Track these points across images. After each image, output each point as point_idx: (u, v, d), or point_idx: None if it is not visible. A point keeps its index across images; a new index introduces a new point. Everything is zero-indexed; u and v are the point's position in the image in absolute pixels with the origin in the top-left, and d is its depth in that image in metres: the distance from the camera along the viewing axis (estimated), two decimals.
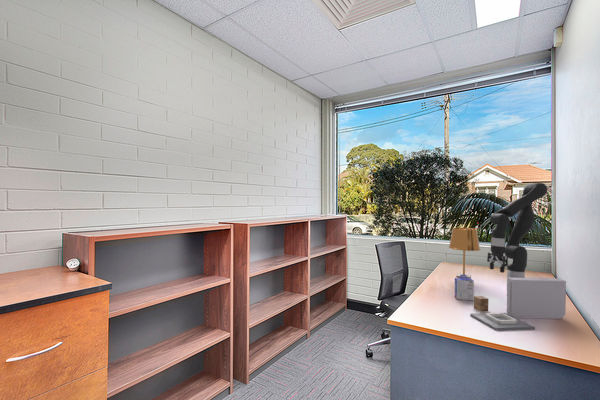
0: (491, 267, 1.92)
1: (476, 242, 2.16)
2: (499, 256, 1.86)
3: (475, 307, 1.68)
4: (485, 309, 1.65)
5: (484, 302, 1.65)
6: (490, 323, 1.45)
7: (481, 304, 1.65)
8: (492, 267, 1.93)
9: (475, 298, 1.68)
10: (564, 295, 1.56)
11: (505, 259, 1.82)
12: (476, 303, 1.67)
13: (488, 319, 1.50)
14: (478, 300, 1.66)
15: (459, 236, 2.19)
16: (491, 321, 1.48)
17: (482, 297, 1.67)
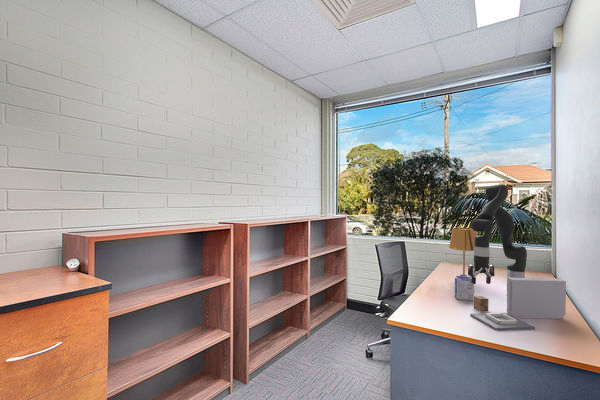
0: None
1: None
2: (487, 267, 1.67)
3: (475, 307, 1.68)
4: (485, 309, 1.65)
5: (484, 302, 1.65)
6: (490, 323, 1.45)
7: (481, 304, 1.65)
8: None
9: (475, 298, 1.68)
10: (564, 295, 1.56)
11: None
12: (476, 303, 1.67)
13: (488, 319, 1.50)
14: (478, 300, 1.66)
15: (459, 236, 2.19)
16: (491, 321, 1.48)
17: (482, 297, 1.67)
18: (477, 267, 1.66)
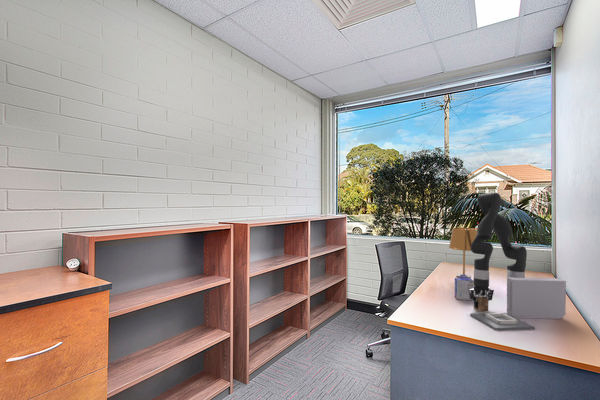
0: None
1: None
2: (487, 290, 1.67)
3: None
4: (485, 309, 1.65)
5: (484, 301, 1.65)
6: (490, 323, 1.45)
7: (481, 304, 1.65)
8: None
9: None
10: (564, 295, 1.56)
11: None
12: None
13: (488, 319, 1.50)
14: (478, 300, 1.66)
15: (459, 236, 2.19)
16: (491, 321, 1.48)
17: (482, 297, 1.67)
18: (477, 291, 1.66)
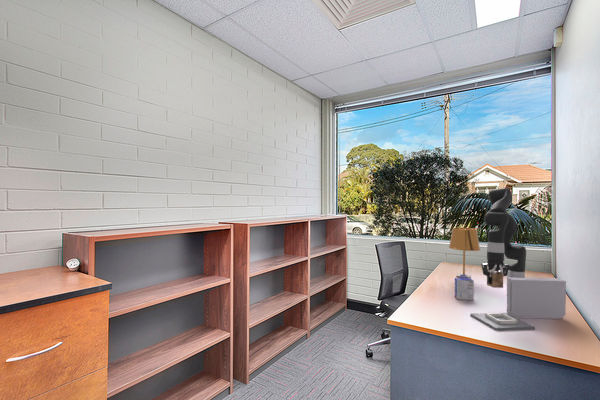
0: None
1: (476, 242, 2.16)
2: (502, 265, 1.53)
3: None
4: (500, 285, 1.52)
5: (498, 277, 1.52)
6: (490, 323, 1.45)
7: (495, 279, 1.51)
8: None
9: None
10: (564, 295, 1.56)
11: None
12: None
13: (488, 319, 1.50)
14: (492, 275, 1.53)
15: (459, 236, 2.19)
16: (491, 321, 1.48)
17: (496, 272, 1.54)
18: (491, 265, 1.53)
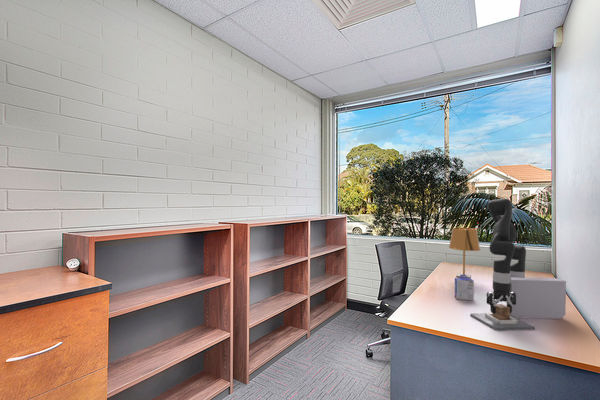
0: None
1: (476, 242, 2.16)
2: (508, 294, 1.49)
3: (495, 316, 1.51)
4: (506, 319, 1.48)
5: (505, 311, 1.48)
6: (490, 323, 1.45)
7: (502, 313, 1.48)
8: None
9: None
10: (564, 295, 1.56)
11: None
12: (496, 312, 1.50)
13: (488, 319, 1.50)
14: (498, 309, 1.49)
15: (459, 236, 2.19)
16: (491, 321, 1.48)
17: (502, 306, 1.50)
18: (497, 295, 1.49)
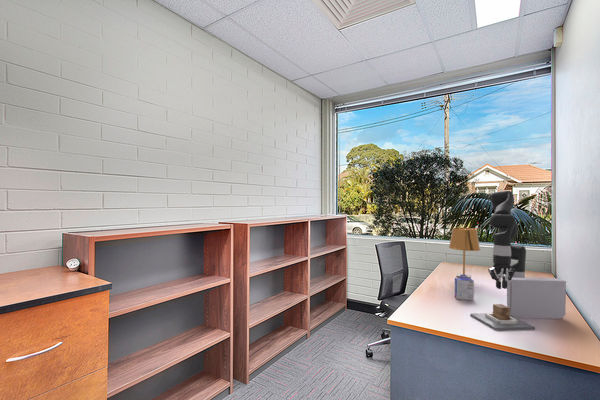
0: None
1: (476, 242, 2.16)
2: (509, 269, 1.49)
3: (495, 316, 1.51)
4: (506, 319, 1.48)
5: (505, 311, 1.48)
6: (490, 323, 1.45)
7: (502, 313, 1.48)
8: None
9: (495, 307, 1.51)
10: (564, 295, 1.56)
11: None
12: (496, 312, 1.50)
13: (488, 319, 1.50)
14: (498, 309, 1.49)
15: (459, 236, 2.19)
16: (491, 321, 1.48)
17: (502, 306, 1.50)
18: (497, 270, 1.49)
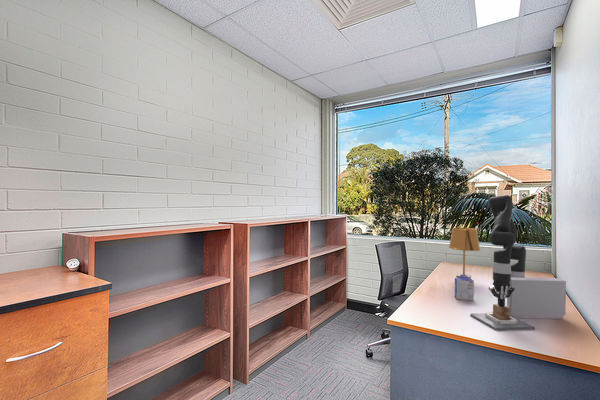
0: None
1: (476, 242, 2.16)
2: (508, 287, 1.49)
3: (495, 316, 1.51)
4: (506, 319, 1.48)
5: (505, 311, 1.48)
6: (490, 323, 1.45)
7: (502, 313, 1.48)
8: None
9: (495, 307, 1.51)
10: (564, 295, 1.56)
11: None
12: (496, 312, 1.50)
13: (488, 319, 1.50)
14: (498, 309, 1.49)
15: (459, 236, 2.19)
16: (491, 321, 1.48)
17: (502, 306, 1.50)
18: (497, 288, 1.49)
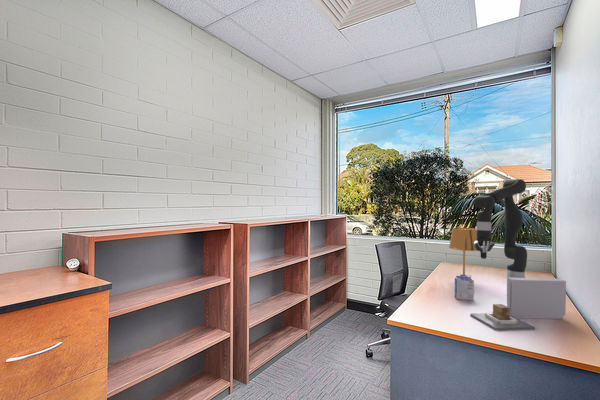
0: None
1: None
2: (489, 242, 1.76)
3: (495, 316, 1.51)
4: (506, 319, 1.48)
5: (505, 311, 1.48)
6: (490, 323, 1.45)
7: (502, 313, 1.48)
8: None
9: (495, 307, 1.51)
10: (564, 295, 1.56)
11: None
12: (496, 312, 1.50)
13: (488, 319, 1.50)
14: (498, 309, 1.49)
15: (459, 236, 2.19)
16: (491, 321, 1.48)
17: (502, 306, 1.50)
18: (480, 243, 1.76)
